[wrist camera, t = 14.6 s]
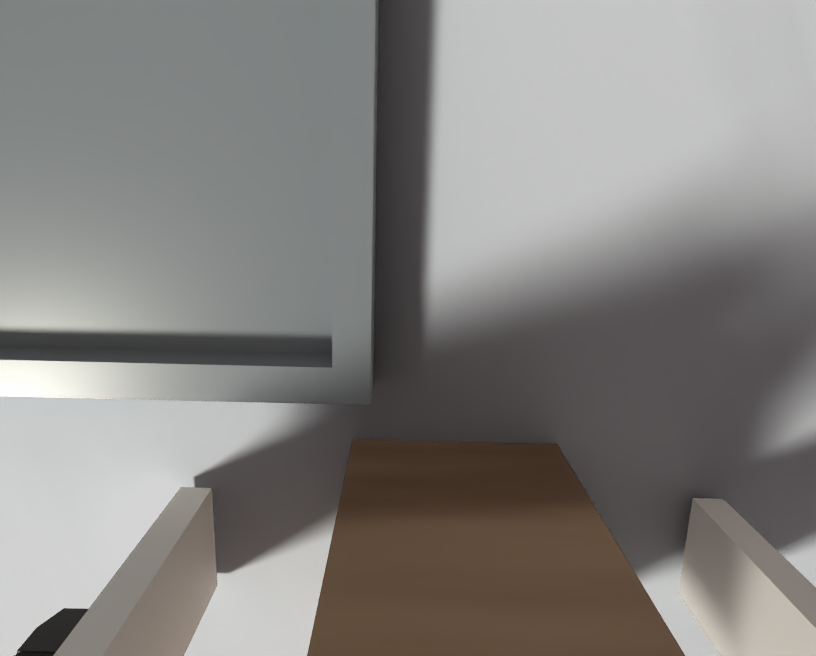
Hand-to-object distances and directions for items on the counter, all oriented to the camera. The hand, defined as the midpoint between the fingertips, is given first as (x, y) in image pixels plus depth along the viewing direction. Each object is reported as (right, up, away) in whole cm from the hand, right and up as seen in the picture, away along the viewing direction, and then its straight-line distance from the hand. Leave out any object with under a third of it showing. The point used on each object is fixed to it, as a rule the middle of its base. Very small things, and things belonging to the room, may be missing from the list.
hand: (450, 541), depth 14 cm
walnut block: (0, 0, 0) cm, 0 cm away
